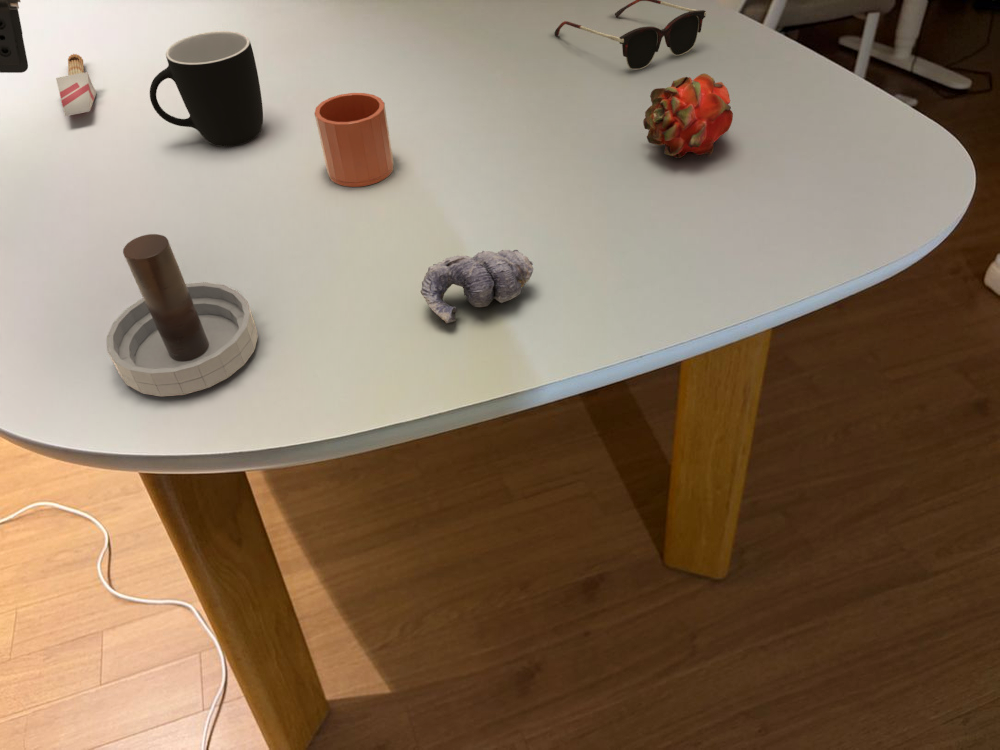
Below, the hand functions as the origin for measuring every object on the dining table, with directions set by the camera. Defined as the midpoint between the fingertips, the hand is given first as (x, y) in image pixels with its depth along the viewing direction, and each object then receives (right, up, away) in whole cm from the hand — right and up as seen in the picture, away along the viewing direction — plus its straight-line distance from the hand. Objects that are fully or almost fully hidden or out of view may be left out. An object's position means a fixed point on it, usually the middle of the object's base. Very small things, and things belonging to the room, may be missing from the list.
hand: (7, 54), depth 54 cm
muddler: (+8, -19, +11) cm, 24 cm away
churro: (-21, +14, +50) cm, 56 cm away
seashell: (+32, -15, +15) cm, 38 cm away
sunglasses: (+50, +23, +53) cm, 76 cm away
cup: (+18, 0, +32) cm, 37 cm away
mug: (+1, +6, +39) cm, 40 cm away
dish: (+8, -20, +12) cm, 24 cm away
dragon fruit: (+53, +3, +32) cm, 62 cm away
